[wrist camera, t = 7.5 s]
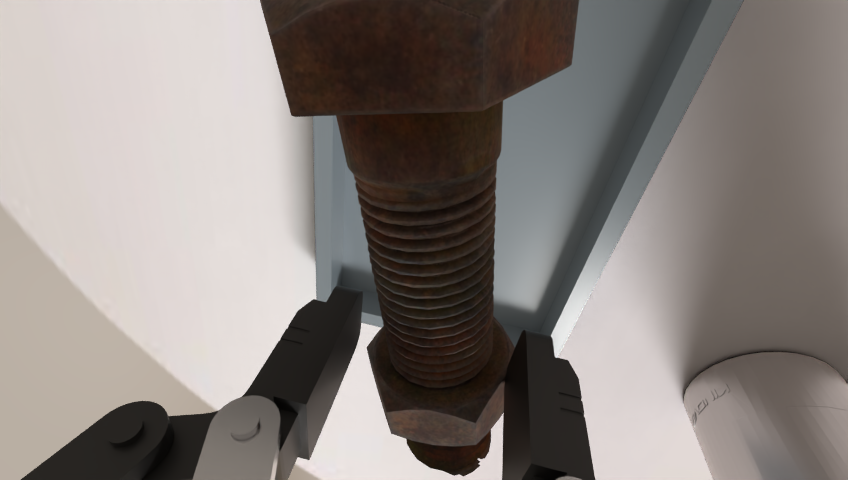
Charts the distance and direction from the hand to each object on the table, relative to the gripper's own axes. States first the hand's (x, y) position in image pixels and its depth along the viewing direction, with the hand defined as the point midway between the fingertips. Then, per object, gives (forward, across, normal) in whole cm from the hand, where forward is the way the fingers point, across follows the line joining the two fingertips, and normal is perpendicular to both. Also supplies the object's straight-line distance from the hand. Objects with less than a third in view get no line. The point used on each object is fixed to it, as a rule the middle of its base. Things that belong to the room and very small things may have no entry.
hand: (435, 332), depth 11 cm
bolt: (+3, 0, -1) cm, 3 cm away
